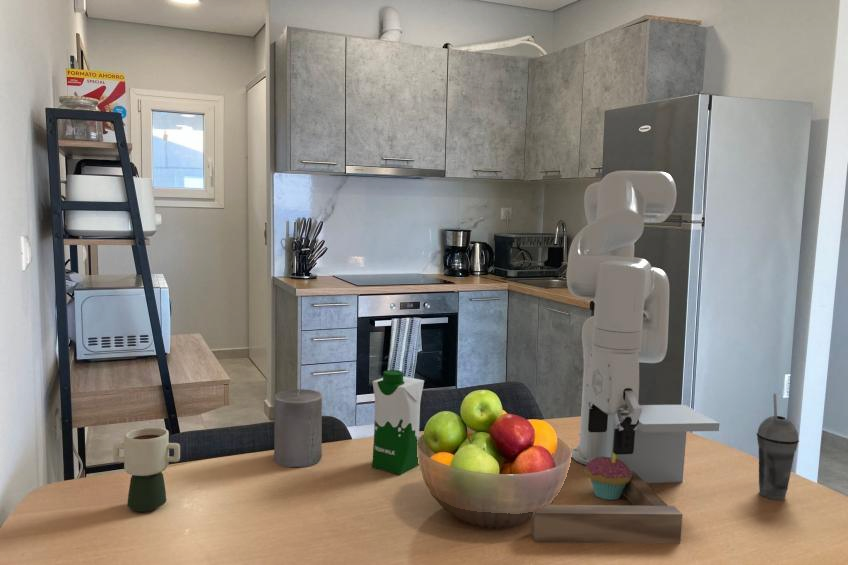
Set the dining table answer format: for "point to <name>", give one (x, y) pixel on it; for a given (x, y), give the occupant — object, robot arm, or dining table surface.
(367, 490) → the dining table surface
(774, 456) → the beverage cup
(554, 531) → the wooden corner bracket
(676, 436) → the shelf
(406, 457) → the milk carton
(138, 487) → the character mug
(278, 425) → the pillar candle
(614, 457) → the cupcake
